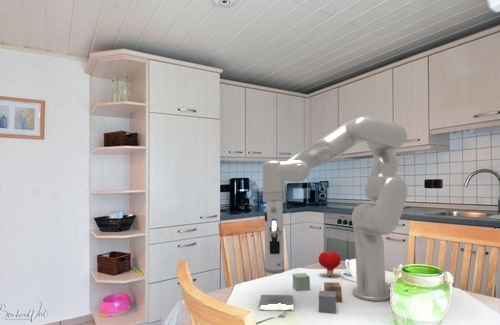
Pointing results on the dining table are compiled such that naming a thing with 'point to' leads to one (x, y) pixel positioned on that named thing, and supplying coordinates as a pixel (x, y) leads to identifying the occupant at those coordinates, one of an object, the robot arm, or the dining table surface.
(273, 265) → the travel mug
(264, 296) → the coaster mat
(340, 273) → the dining table surface
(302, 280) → the sage green block
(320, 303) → the charcoal block
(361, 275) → the robot arm
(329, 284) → the walnut block
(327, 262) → the red heart figurine
